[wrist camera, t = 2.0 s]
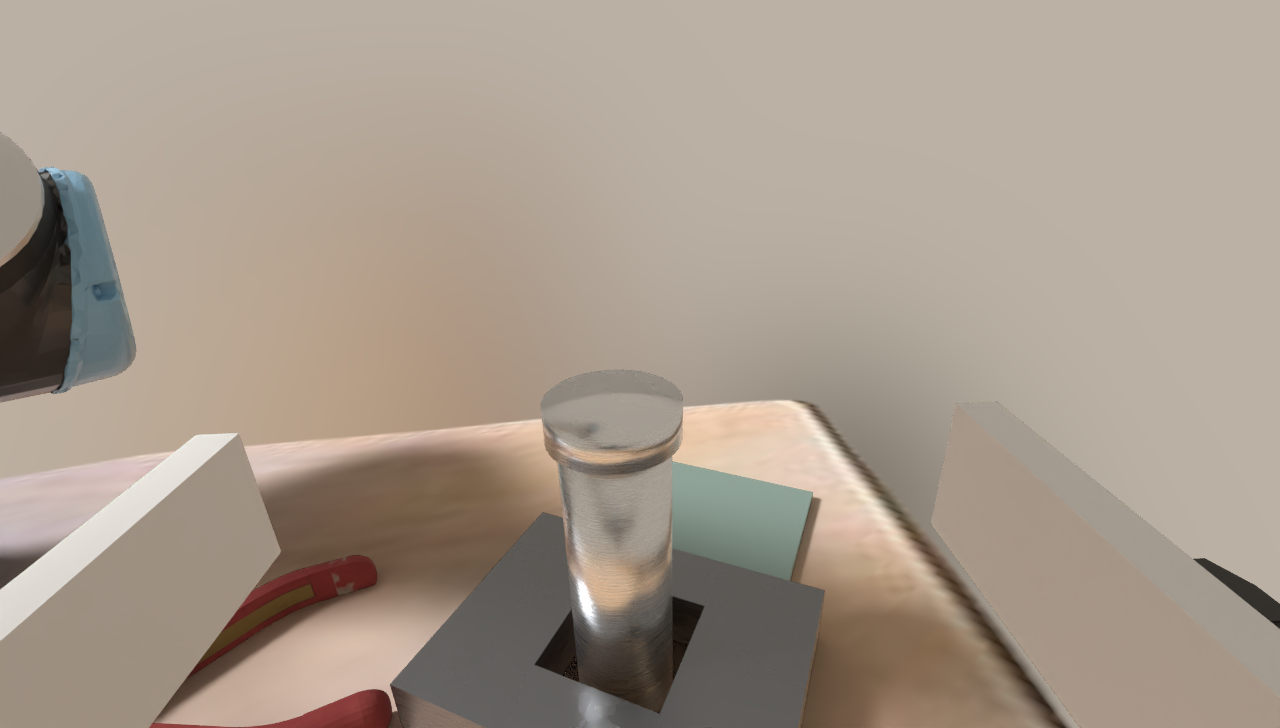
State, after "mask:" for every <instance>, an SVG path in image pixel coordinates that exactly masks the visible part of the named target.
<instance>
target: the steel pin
mask: <svg viewBox="0 0 1280 728" xmlns="http://www.w3.org/2000/svg"><path fill="white" fill-rule="evenodd" d="M541 414H542V423H543V433H544V442H545V447H546V450H547V452H548V454H549V455H550V456H551V457H552V458H553V459H554V460H555V461H556V462H558V472H559V482H560V493H561V503H562V513H563V523H564V533H565V543H566V553H567V564H568V574H569V584H570V594H571V604H572V614H573V625H574V635H575V645H576V655H577V665H578V675H579V682H580V683H582V684H585V685H587V686H590V687H592V688H595V689H598V690H600V691H603V692H605V693H608V694H610V695H613V696H615V697H618V698H621V699H623V700H626V701H628V702H631V703H633V704H636V705H639V706H641V707H644V708H646V709H649V710H651V711H654V712H656V713H657V712H659V711H660V710H661V708H662V707H663V705H664V702H665V700H666V698H667V695H668V693H669V690H670V688H671V686H672V682H673V646H672V455H673V454H674V453H675V452H676V451H677V450H678V449H679V447H680V445H681V442H682V439H683V398H682V394H681V392H680V391H679V389H678V388H677V387H676V386H675V385H674V384H672V383H671V382H669V381H668V380H666V379H664V378H662V377H659V376H656V375H653V374H650V373H645V372H640V371H633V370H604V371H596V372H590V373H585V374H582V375H578V376H575V377H572V378H569V379H567V380H565V381H563V382H561V383H559V384H557V385H555V386H554V387H553V388H552V389H550V390H549V391H548V392H547V393H546V395H545V396H544V397H543V400H542V402H541Z"/></svg>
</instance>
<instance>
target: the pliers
mask: <svg viewBox="0 0 1280 728" xmlns="http://www.w3.org/2000/svg"><path fill="white" fill-rule="evenodd" d="M376 582H377V572H376V568H375V565H374V563H373V562H372V560H371V559H369V558H368V557H365V556H362V555H353V556H348V557H345V558H341V559H337V560H333V561H330V562H326V563H322V564H318V565H315V566H311V567H307V568H303V569H300V570H296V571H293V572H291V573H288V574H286V575H283V576H281V577H279V578H277V579H275V580H273V581H270V582H268V583H266V584H265V585H263V586H261V587H259V588H257V589H255V590H253V591H251V593H250V594H249V595H248V597H247V598H246V599H245V601H244V602H243V603H242V605H241V606H240V607H239V609H238V610H237V611H236V613H235V614H234V615H233V617H232V618H231V619H230V621H229V622H228V623H227V625H226V626H225V627H224V629H223V630H222V631H221V633H220V634H219V635H218V637H217V638H216V639H215V641H214V642H213V643H212V645H211V646H210V647H209V649H208V650H207V651H206V653H205V654H204V655H203V657H202V658H201V659H200V661H199V662H198V663H197V665H196V666H195V667H194V669H193V670H192V671H191V672H190V674H189V675H188V676H187V678H189V677H190V676H192V675H193V674H195V673H196V672H198V671H199V670H201V669H202V668H204V667H205V666H207V665H209V664H210V663H212V662H213V661H215V660H216V659H218V658H219V657H221V656H222V655H224V654H225V653H227V652H228V651H230V650H231V649H233V648H234V647H236V646H237V645H239V644H241V643H242V642H244V641H245V640H247V639H248V638H250V637H251V636H253V635H254V634H256V633H257V632H259V631H260V630H262V629H263V628H265V627H267V626H268V625H270V624H272V623H273V622H275V621H277V620H279V619H281V618H282V617H284V616H286V615H288V614H290V613H292V612H294V611H296V610H299V609H301V608H303V607H306V606H308V605H311V604H314V603H317V602H320V601H323V600H326V599H330V598H333V597H336V596H340V595H343V594H346V593H350V592H353V591H356V590H360V589H363V588H366V587H369V586H373V585H375V584H376ZM187 678H186V679H187ZM186 679H185V680H186ZM391 717H392V707H391V702H390V699H389V696H388V695H387V693H385V692H384V691H382V690H376V689H372V690H365V691H361V692H357V693H355V694H352V695H350V696H348V697H345V698H343V699H340V700H338V701H335V702H333V703H330V704H328V705H326V706H323V707H321V708H318V709H316V710H313V711H311V712H308V713H306V714H304V715H303V716H300V717H297V718H294V719H290V720H287V721H283V722H279V723H275V724H269V725H263V726H253V727H219V726H200V725H181V724H163V723H152V724H151V726H150V727H149V728H387V727H388V726H389V723H390V721H391Z"/></svg>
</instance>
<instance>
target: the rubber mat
mask: <svg viewBox="0 0 1280 728" xmlns="http://www.w3.org/2000/svg"><path fill="white" fill-rule="evenodd" d="M812 495H813V492H810V491H805V490H800V489H796V488H791V487H787V486H782V485H778V484H773V483H769V482H764V481H759V480H755V479H750V478H746V477H741V476H737V475H732V474H728V473H723V472H718V471H714V470H709V469H705V468H700V467H696V466H691V465H686V464H682V463H677V462H673V461H672V548H673V549H677V550H681V551H684V552H688V553H691V554H695V555H699V556H702V557H706V558H710V559H713V560H717V561H720V562H724V563H728V564H731V565H735V566H738V567H742V568H746V569H749V570H753V571H756V572H760V573H764V574H767V575H771V576H774V577H778V578H782V579H785V580H789V581H790V580H791V576H792V572H793V568H794V565H795V561H796V557H797V554H798V550H799V546H800V542H801V539H802V535H803V531H804V527H805V524H806V520H807V516H808V512H809V509H810V505H811V501H812Z"/></svg>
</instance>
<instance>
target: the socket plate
mask: <svg viewBox="0 0 1280 728" xmlns="http://www.w3.org/2000/svg"><path fill="white" fill-rule="evenodd" d="M824 592H825V590H821V589H818V588H814V587H811V586H807V585H803V584H800V583H796V582H792V581H789V580H785V579H782V578H778V577H774V576H771V575H767V574H764V573H760V572H756V571H753V570H749V569H746V568H742V567H738V566H735V565H731V564H728V563H724V562H720V561H717V560H713V559H710V558H706V557H702V556H699V555H695V554H691V553H688V552H684V551H681V550H677V549H673V548H672V640H674V641H677V642H679V643H682V644H685V645H688V647H687V650H686V652H685V655H684V657H683V659H682V662H681V664H680V666H679V669H678V671H677V674H676V676H675V678H674V681H673V683H672V686H671V688H670V690H669V693H668V695H667V698H666V700H665V702H664V705H663V707H662V709H661V712H660V714H659V713H656V712H654V711H651V710H649V709H646V708H644V707H641V706H639V705H636V704H633V703H631V702H628V701H626V700H623V699H621V698H618V697H615V696H613V695H610V694H608V693H605V692H603V691H600V690H598V689H595V688H592V687H590V686H587V685H585V684H582V683H580V682H577V681H575V680H572V679H569V678H567V677H564V676H563V674H564V672H565V671H566V669H567V667H568V666H569V664H570V662H571V661H572V659H573V658H574V656H575V654H576V645H575V635H574V625H573V614H572V604H571V594H570V584H569V574H568V564H567V553H566V543H565V533H564V523H563V518H562V517H558V516H554V515H551V514H547V513H544V512H543V513H542V514H541V515H540V516H539V517H538V518H537V519H536V521H535V522H534V523H533V524H532V525H531V526H530V527H529V528H528V530H527V531H526V532H525V533H524V534H523V535H522V536H521V537H520V539H519V540H518V541H517V542H516V543H515V544H514V545H513V546H512V548H511V549H510V550H509V551H508V552H507V553H506V554H505V556H504V557H503V558H502V559H501V560H500V561H499V562H498V563H497V565H496V566H495V567H494V568H493V569H492V570H491V571H490V572H489V574H488V575H487V576H486V577H485V578H484V579H483V580H482V581H481V583H480V584H479V585H478V586H477V587H476V588H475V589H474V590H473V592H472V593H471V594H470V595H469V596H468V597H467V598H466V599H465V601H464V602H463V603H462V604H461V605H460V606H459V607H458V608H457V610H456V611H455V612H454V613H453V614H452V615H451V616H450V617H449V619H448V620H447V621H446V622H445V623H444V624H443V625H442V626H441V628H440V629H439V630H438V631H437V632H436V633H435V634H434V635H433V637H432V638H431V639H430V640H429V641H428V642H427V643H426V644H425V646H424V647H423V648H422V649H421V650H420V651H419V652H418V653H417V655H416V656H415V657H414V658H413V659H412V660H411V661H410V662H409V664H408V665H407V666H406V667H405V668H404V669H403V670H402V671H401V673H400V674H399V675H398V676H397V677H396V678H395V679H394V680H393V682H392V683H391V684H390V686H391V690H392V693H393V696H394V700H395V703H396V707H397V710H398V713H399V717H400V720H401V724H402V727H403V728H801V724H802V719H803V714H804V709H805V703H806V698H807V693H808V688H809V682H810V677H811V672H812V667H813V661H814V656H815V651H816V646H817V640H818V635H819V628H820V621H821V614H822V607H823V600H824Z"/></svg>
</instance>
